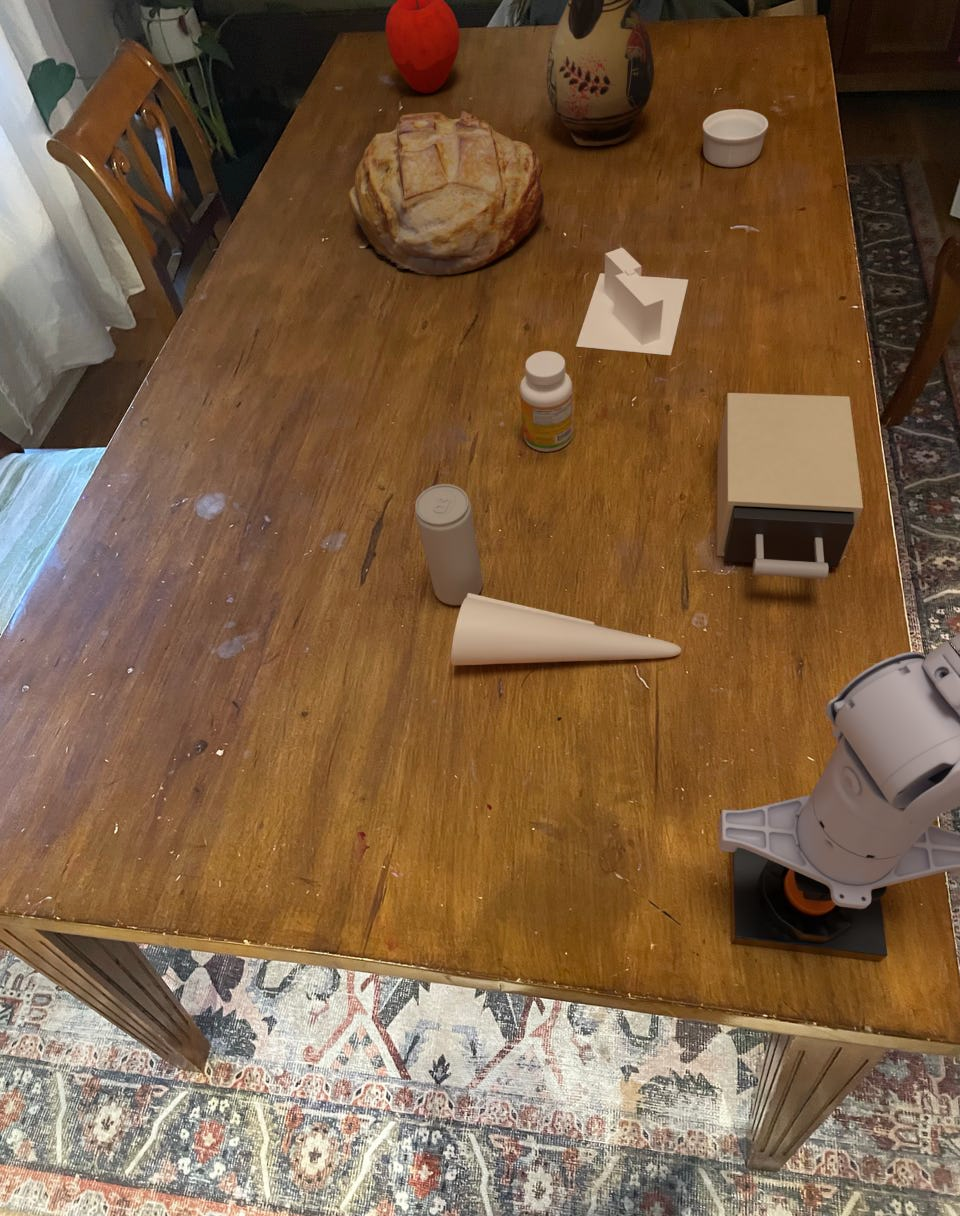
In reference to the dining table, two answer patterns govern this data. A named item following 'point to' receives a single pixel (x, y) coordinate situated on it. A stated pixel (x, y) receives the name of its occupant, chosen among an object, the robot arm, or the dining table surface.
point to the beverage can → (449, 542)
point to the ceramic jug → (600, 70)
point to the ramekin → (733, 137)
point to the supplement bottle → (546, 402)
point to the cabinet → (786, 456)
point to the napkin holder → (632, 309)
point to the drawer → (788, 540)
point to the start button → (800, 903)
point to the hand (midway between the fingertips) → (813, 885)
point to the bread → (445, 193)
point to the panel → (796, 916)
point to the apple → (422, 42)
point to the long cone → (541, 637)
